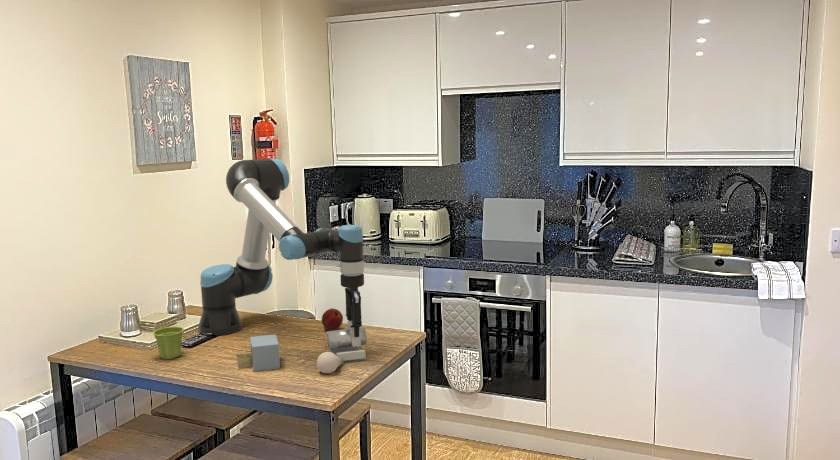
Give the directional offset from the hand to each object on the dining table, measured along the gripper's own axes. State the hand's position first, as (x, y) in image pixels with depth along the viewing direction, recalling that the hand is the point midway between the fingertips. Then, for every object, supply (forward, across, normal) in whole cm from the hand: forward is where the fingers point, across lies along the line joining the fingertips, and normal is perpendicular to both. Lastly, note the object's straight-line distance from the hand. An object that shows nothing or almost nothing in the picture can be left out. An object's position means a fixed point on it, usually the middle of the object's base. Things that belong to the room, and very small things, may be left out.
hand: (354, 342), depth 212 cm
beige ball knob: (+4, +12, -10) cm, 16 cm away
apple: (+4, -28, -2) cm, 28 cm away
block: (+4, 0, -28) cm, 29 cm away
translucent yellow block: (+4, -1, -33) cm, 33 cm away
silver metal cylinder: (+1, -1, -2) cm, 3 cm away
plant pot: (+4, -18, -58) cm, 60 cm away
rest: (+4, 0, -2) cm, 5 cm away
